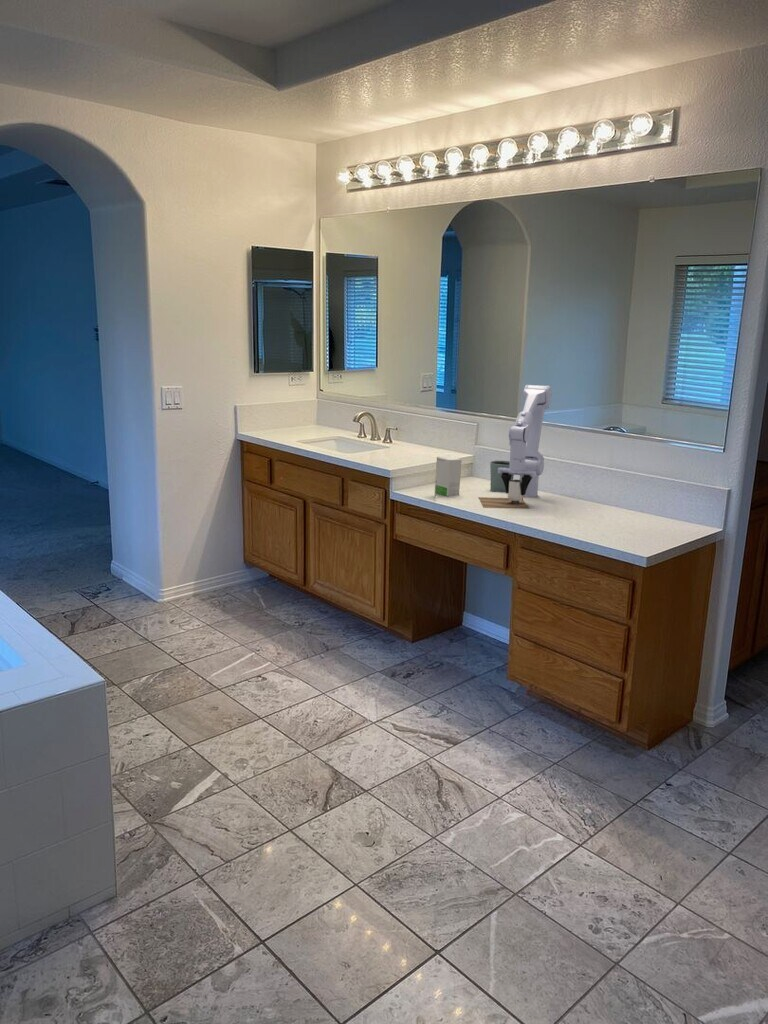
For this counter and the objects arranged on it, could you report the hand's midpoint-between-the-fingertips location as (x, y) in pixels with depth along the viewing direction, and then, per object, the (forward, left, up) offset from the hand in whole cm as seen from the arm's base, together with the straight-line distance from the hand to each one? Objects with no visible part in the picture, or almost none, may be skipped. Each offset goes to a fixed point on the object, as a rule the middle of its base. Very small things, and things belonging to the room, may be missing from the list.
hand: (515, 493), depth 303 cm
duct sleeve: (0, 0, -2) cm, 2 cm away
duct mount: (0, -5, -4) cm, 6 cm away
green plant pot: (-26, -2, -5) cm, 26 cm away
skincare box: (-15, -25, -5) cm, 29 cm away
